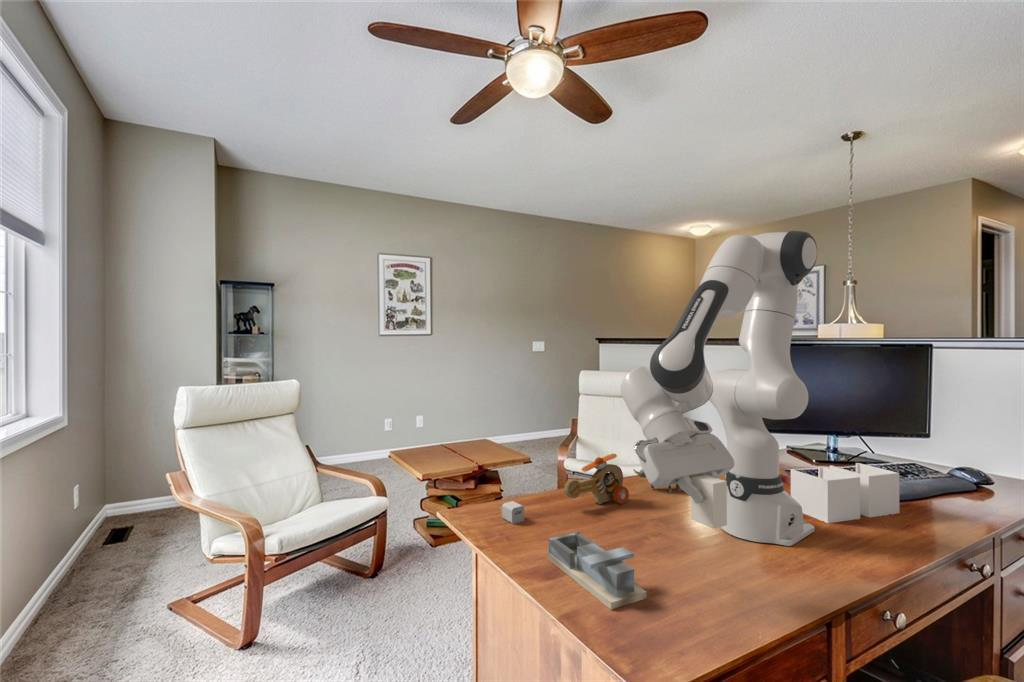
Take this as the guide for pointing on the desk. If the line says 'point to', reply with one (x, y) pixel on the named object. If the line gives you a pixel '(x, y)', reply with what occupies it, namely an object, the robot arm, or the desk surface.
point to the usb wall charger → (512, 512)
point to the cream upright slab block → (710, 501)
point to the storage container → (846, 492)
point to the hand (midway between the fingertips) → (711, 499)
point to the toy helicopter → (600, 482)
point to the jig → (596, 569)
